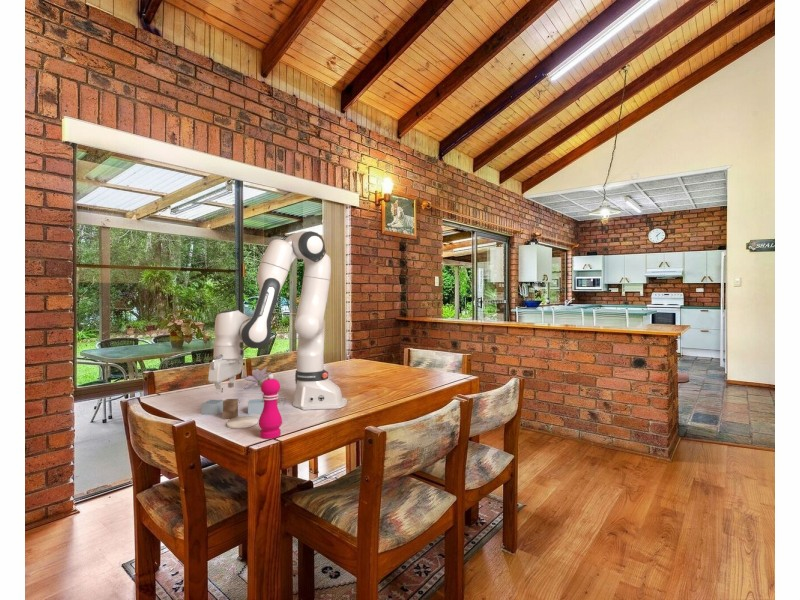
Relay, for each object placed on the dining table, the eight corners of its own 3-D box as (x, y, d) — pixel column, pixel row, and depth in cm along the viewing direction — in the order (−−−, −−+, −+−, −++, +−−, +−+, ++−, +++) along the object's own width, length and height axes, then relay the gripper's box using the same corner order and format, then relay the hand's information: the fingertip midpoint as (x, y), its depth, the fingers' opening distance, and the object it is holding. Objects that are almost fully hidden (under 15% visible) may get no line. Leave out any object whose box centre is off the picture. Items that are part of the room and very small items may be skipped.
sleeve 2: (265, 408, 164) (265, 398, 164) (265, 412, 158) (265, 402, 158) (248, 409, 162) (248, 399, 162) (247, 414, 156) (247, 403, 156)
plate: (262, 419, 149) (262, 416, 149) (251, 428, 139) (251, 425, 139) (234, 419, 150) (234, 415, 150) (221, 428, 139) (221, 424, 139)
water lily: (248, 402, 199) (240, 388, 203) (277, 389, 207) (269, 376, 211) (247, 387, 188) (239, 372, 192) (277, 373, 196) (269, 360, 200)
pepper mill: (266, 441, 127) (266, 377, 127) (254, 435, 132) (254, 374, 132) (286, 435, 133) (286, 374, 133) (274, 430, 138) (274, 371, 137)
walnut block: (237, 416, 154) (237, 398, 154) (233, 419, 150) (233, 401, 150) (227, 416, 154) (227, 398, 154) (222, 419, 150) (222, 401, 150)
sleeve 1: (224, 410, 162) (224, 400, 161) (217, 414, 155) (217, 404, 155) (209, 409, 162) (209, 399, 162) (201, 414, 156) (201, 403, 155)
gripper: (222, 357, 141) (220, 397, 141) (246, 349, 162) (244, 384, 162) (204, 356, 141) (202, 396, 141) (230, 349, 162) (229, 384, 162)
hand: (225, 390), depth 152 cm, fingers open, 8 cm apart
